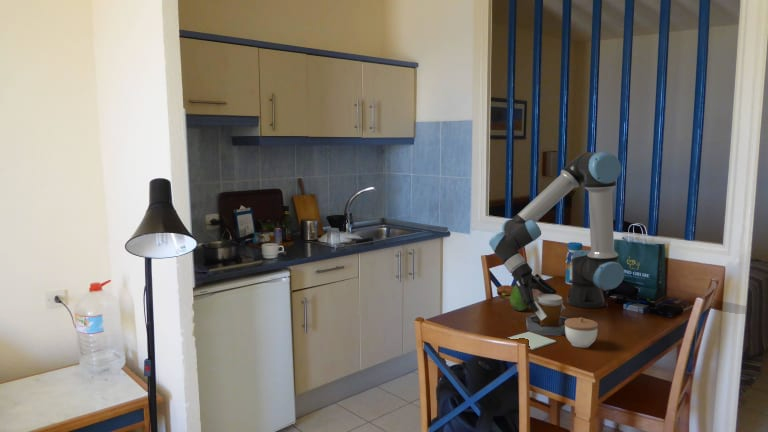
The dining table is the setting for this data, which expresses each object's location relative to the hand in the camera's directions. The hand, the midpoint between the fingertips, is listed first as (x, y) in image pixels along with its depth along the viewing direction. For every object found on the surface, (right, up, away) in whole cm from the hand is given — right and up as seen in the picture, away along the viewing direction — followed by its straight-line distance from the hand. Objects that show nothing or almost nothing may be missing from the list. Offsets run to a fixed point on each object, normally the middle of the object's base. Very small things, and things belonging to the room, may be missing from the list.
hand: (553, 314), depth 203 cm
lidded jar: (+5, -8, -15) cm, 17 cm away
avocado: (-6, -3, +25) cm, 26 cm away
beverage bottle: (+31, +3, +69) cm, 76 cm away
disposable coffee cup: (-1, -6, +2) cm, 6 cm away
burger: (-6, 0, +47) cm, 47 cm away
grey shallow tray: (-1, -5, +2) cm, 6 cm away
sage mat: (-11, -7, -11) cm, 17 cm away
